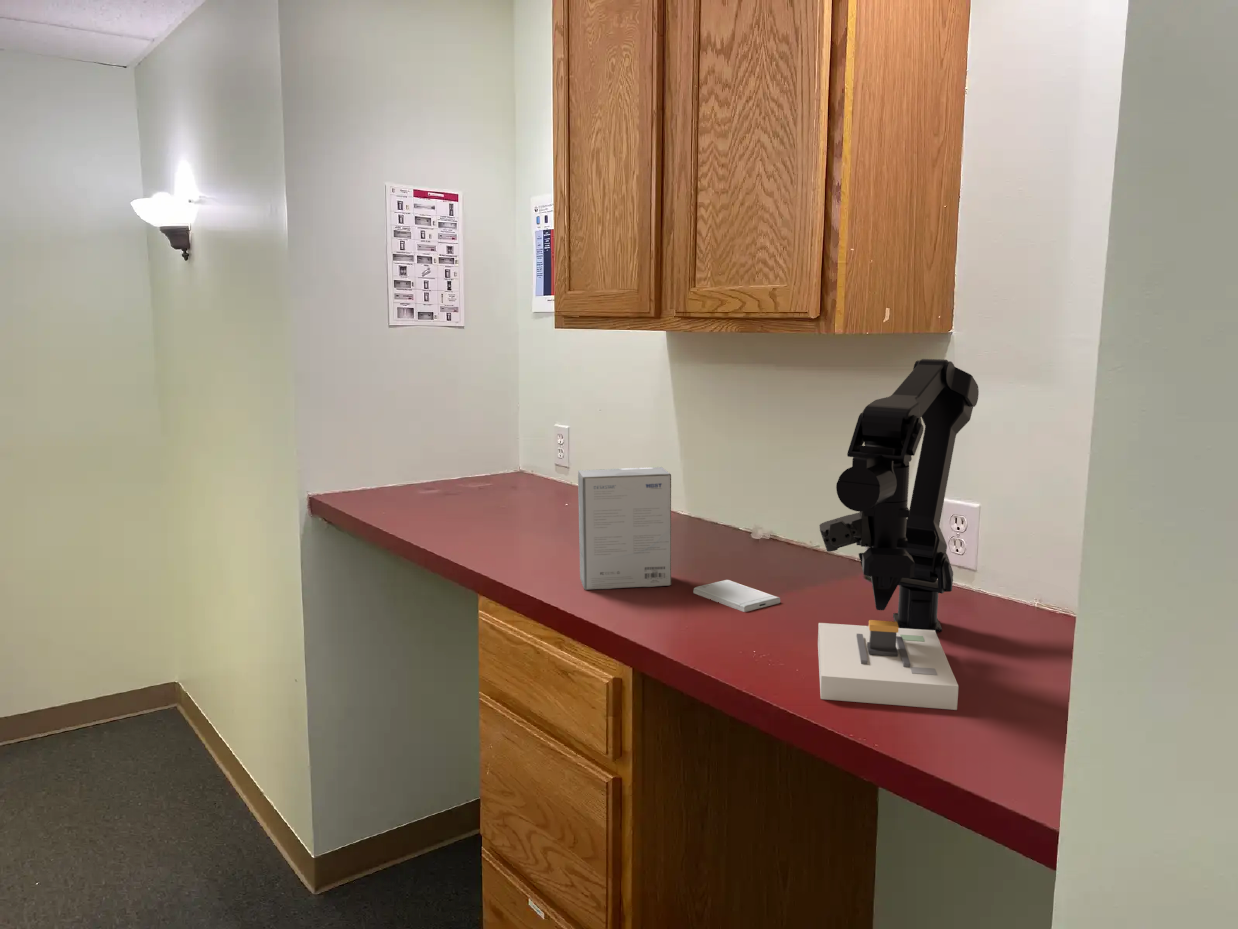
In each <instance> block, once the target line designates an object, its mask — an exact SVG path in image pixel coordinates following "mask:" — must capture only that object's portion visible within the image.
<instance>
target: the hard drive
mask: <svg viewBox="0 0 1238 929" xmlns="http://www.w3.org/2000/svg"><path fill="white" fill-rule="evenodd" d="M693 594H695V595H698V596H699V597H701V598H704V599H708V600H710V599H711V601H713V602H716V603H718V602H719V604H722V605H724V606H727V607H729V608H732V609H735V610H738V611H740V612H743V613H747V612H750V611H754V610H757V609H762V608H766V607H769V606H773V605H778V604H780V603H781V597H779V596H776V595H773V594H771V593H767V592H764V591H762V590H758V589H755V588H753V587H750V586H746V585H743V584H740V583H738V582H736V581H732V580H730V579H724V580H721V581H715V582H712V583H708V584H703V585H698V586H696V587H694V588H693Z"/></svg>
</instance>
